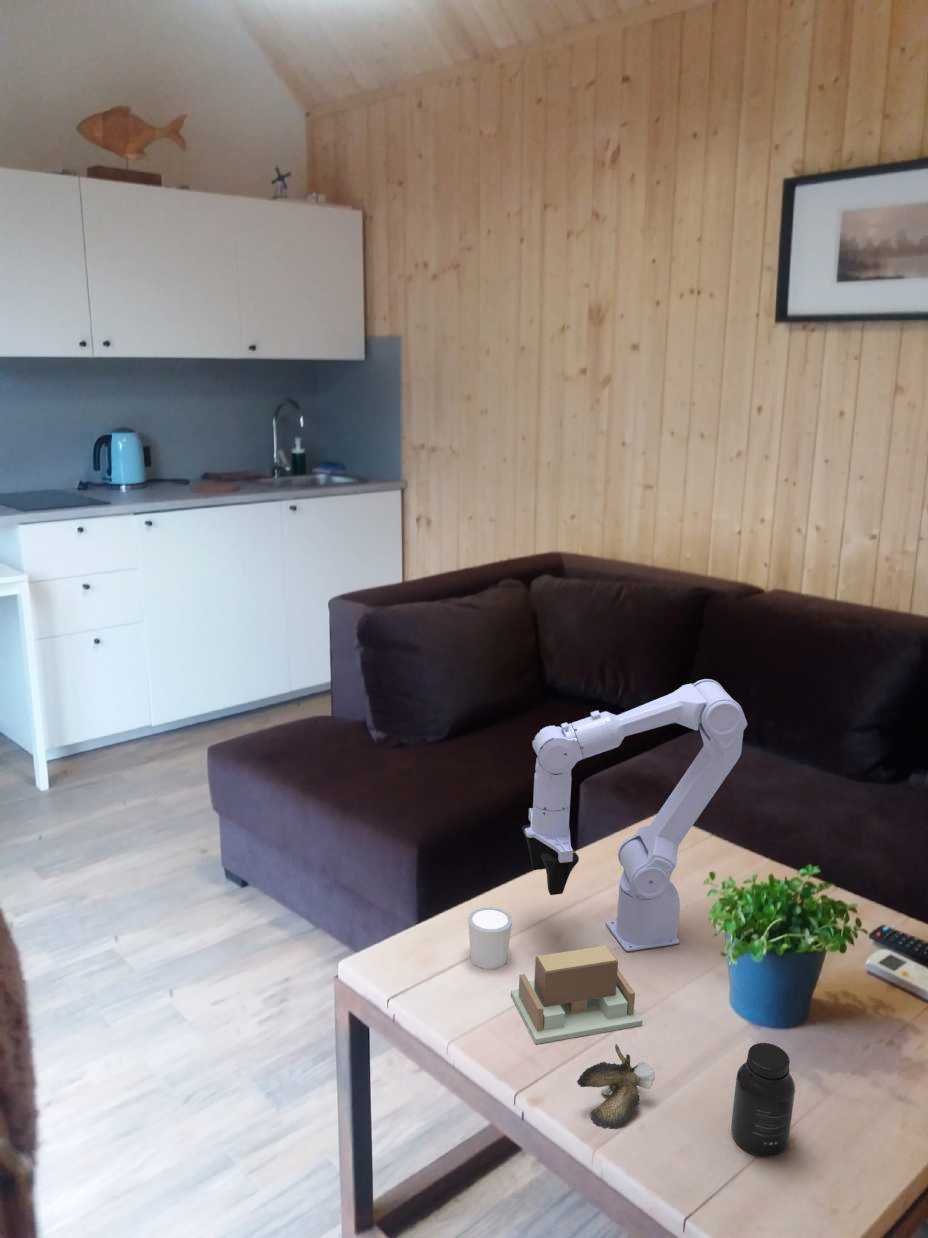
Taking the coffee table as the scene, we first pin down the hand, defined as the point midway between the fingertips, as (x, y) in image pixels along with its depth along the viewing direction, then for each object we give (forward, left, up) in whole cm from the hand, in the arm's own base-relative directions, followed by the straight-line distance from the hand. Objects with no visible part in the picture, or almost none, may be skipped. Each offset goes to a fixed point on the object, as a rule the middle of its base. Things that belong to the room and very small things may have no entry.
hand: (547, 880), depth 160 cm
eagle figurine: (+4, +36, -11) cm, 38 cm away
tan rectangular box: (+2, +18, -7) cm, 20 cm away
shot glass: (+10, +3, -11) cm, 15 cm away
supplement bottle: (-11, +46, -11) cm, 48 cm away
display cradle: (+2, +18, -10) cm, 21 cm away
